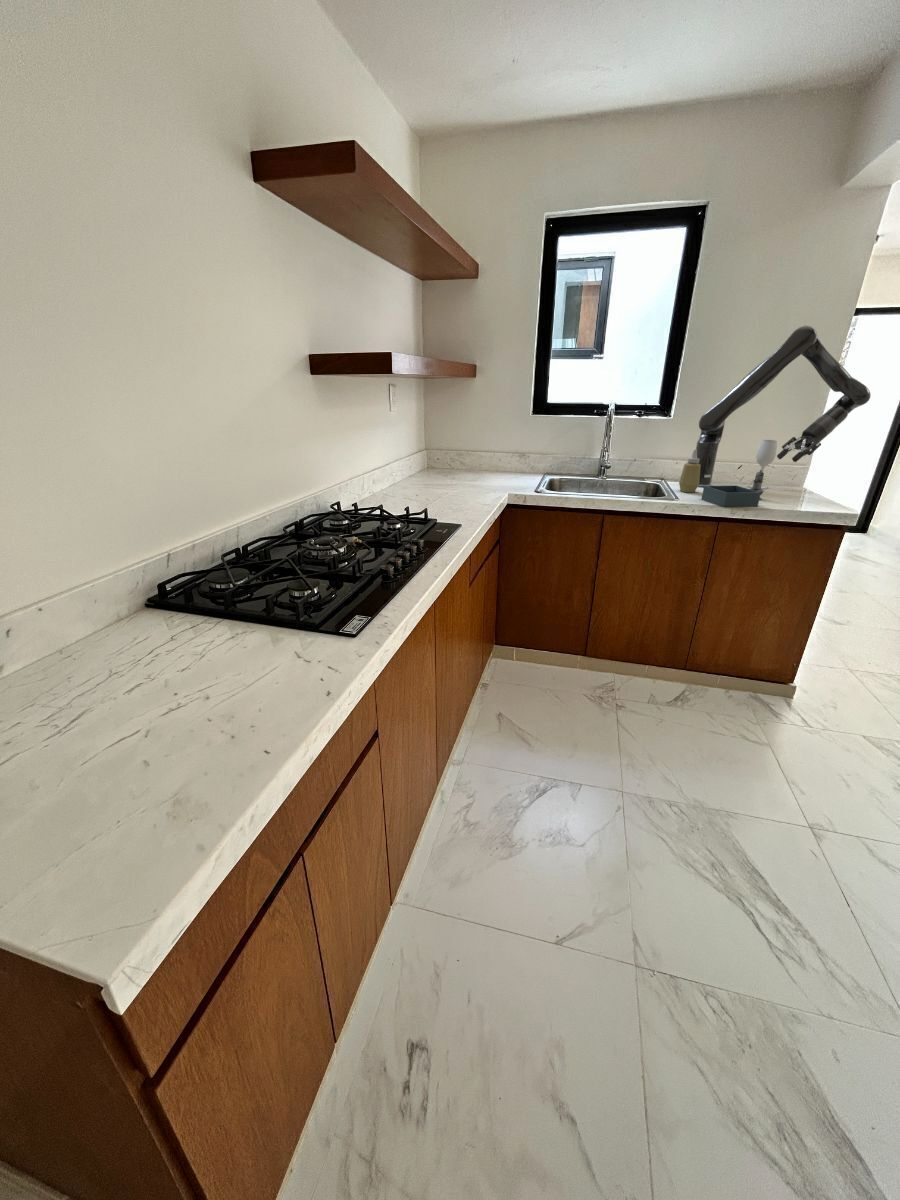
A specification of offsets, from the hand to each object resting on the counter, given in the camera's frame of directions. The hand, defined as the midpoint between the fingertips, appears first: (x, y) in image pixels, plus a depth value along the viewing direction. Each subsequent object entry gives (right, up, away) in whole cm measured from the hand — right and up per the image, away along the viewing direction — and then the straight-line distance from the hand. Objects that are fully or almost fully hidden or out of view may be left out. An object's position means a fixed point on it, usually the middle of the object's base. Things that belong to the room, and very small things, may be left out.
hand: (785, 459), depth 204 cm
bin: (-25, -18, -3) cm, 31 cm away
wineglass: (+7, -5, +30) cm, 32 cm away
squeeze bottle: (-31, -9, +19) cm, 38 cm away
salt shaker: (-10, -15, +5) cm, 19 cm away
